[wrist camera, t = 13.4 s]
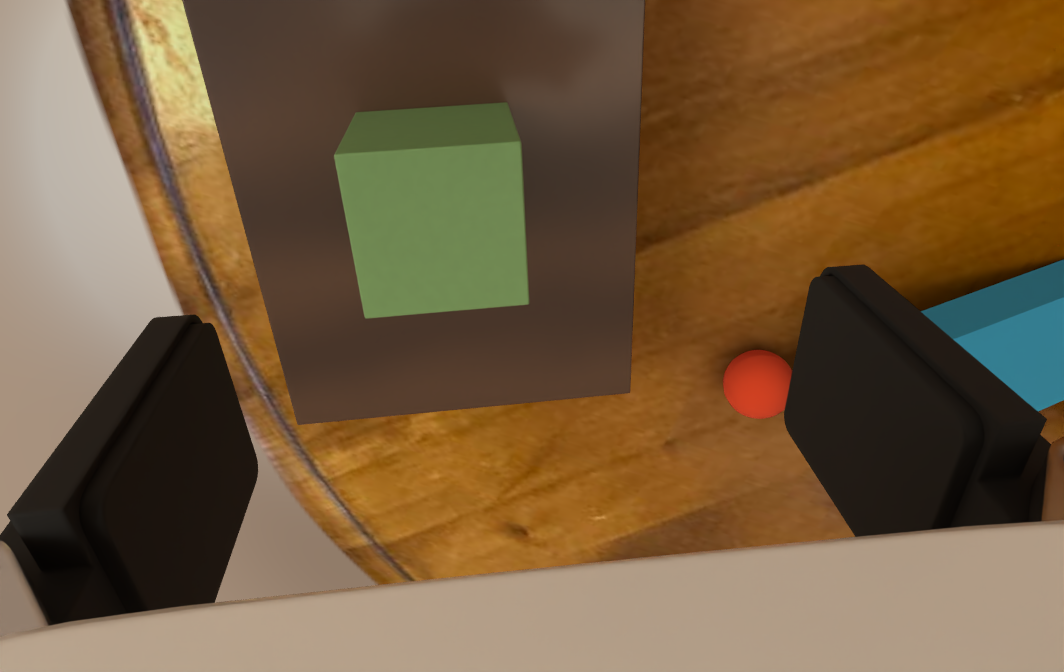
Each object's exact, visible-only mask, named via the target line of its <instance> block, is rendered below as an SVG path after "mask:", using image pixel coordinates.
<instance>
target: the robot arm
mask: <svg viewBox="0 0 1064 672" xmlns="http://www.w3.org/2000/svg"><path fill="white" fill-rule="evenodd" d="M784 419H785V425H786V428H787V430H788V432H789V434H790V436H791V437H792V439H793V440H794V442H795V444H796V445H797V447H798V448H799V450H800V451H801V453H802V454H803V456H804V457H805V459H806V461H807V462H808V464H809V465H810V467H811V468H812V470H813V471H814V473H815V475H816V476H817V478H818V479H819V481H820V482H821V484H822V485H823V487H824V488H825V490H826V492H827V493H828V495H829V496H830V498H831V499H832V501H833V502H834V504H835V506H836V507H837V509H838V510H839V512H840V513H841V515H842V516H843V518H844V519H845V521H846V523H847V524H848V526H849V527H850V529H851V530H852V532H853V533H854V535H855V537H851V538H840V539H830V540H819V541H809V542H799V543H788V544H778V545H767V546H757V547H746V548H736V549H726V550H715V551H705V552H695V553H685V554H675V555H665V556H655V557H645V558H635V559H625V560H615V561H605V562H595V563H585V564H576V565H566V566H556V567H546V568H537V569H527V570H517V571H507V572H498V573H488V574H478V575H468V576H459V577H450V578H440V579H431V580H422V581H413V582H403V583H394V584H385V585H375V586H366V587H357V588H348V589H338V590H329V591H320V592H310V593H301V594H292V595H283V596H273V597H263V598H254V599H245V600H235V601H227V602H217V603H215V600H216V597H217V594H218V591H219V588H220V585H221V582H222V579H223V576H224V574H225V571H226V568H227V565H228V562H229V559H230V556H231V553H232V550H233V548H234V545H235V542H236V538H237V536H238V533H239V530H240V527H241V524H242V521H243V519H244V516H245V513H246V510H247V507H248V504H249V501H250V498H251V495H252V493H253V490H254V487H255V484H256V481H257V475H258V464H257V463H258V462H257V457H256V454H255V450H254V447H253V444H252V442H251V438H250V435H249V432H248V429H247V426H246V423H245V419H244V416H243V413H242V410H241V407H240V404H239V401H238V398H237V395H236V391H235V388H234V385H233V382H232V379H231V376H230V373H229V370H228V367H227V364H226V360H225V357H224V354H223V351H222V348H221V345H220V342H219V339H218V336H217V333H216V330H215V328H214V326H213V325H212V324H210V323H202V321H201V320H200V318H199V317H198V316H196V315H183V316H170V317H157V318H153V319H152V320H151V321H150V322H149V324H148V325H147V326H146V328H145V329H144V330H143V332H142V333H141V334H140V336H139V337H138V338H137V340H136V341H135V343H134V344H133V345H132V347H131V348H130V349H129V351H128V352H127V353H126V355H125V356H124V357H123V359H122V360H121V362H120V363H119V364H118V365H117V367H116V368H115V370H114V371H113V372H112V374H111V375H110V376H109V378H108V379H107V380H106V382H105V383H104V384H103V386H102V387H101V388H100V390H99V391H98V393H97V394H96V395H95V397H94V398H93V399H92V401H91V402H90V404H89V405H88V406H87V407H86V409H85V410H84V411H83V413H82V414H81V415H80V417H79V418H78V420H77V421H76V422H75V424H74V425H73V426H72V428H71V429H70V430H69V432H68V433H67V434H66V436H65V437H64V438H63V440H62V441H61V443H60V444H59V445H58V446H57V448H56V449H55V451H54V452H53V453H52V455H51V456H50V457H49V459H48V460H47V461H46V463H45V464H44V466H43V467H42V468H41V470H40V471H39V472H38V474H37V475H36V476H35V478H34V479H33V480H32V482H31V483H30V484H29V486H28V487H27V489H26V490H25V491H24V492H23V494H22V495H21V497H20V498H19V499H18V500H17V502H16V503H15V505H14V506H13V507H12V509H11V510H10V511H9V513H8V514H7V516H8V517H9V519H10V522H9V524H8V525H7V526H6V528H5V529H4V531H3V532H2V533H1V535H0V672H1064V437H1062V438H1060V439H1058V440H1056V441H1055V442H1053V443H1052V444H1050V443H1049V442H1048V441H1047V440H1045V439H1044V438H1043V437H1042V436H1041V435H1040V433H1041V431H1042V429H1043V427H1044V425H1045V422H1046V420H1047V419H1046V418H1045V417H1044V416H1042V415H1041V414H1040V413H1039V412H1038V411H1037V410H1035V409H1034V408H1033V407H1032V406H1031V405H1030V404H1028V403H1027V402H1026V401H1025V400H1024V399H1023V398H1021V397H1020V396H1019V395H1018V394H1017V393H1016V392H1014V391H1013V390H1012V389H1011V388H1010V387H1008V386H1007V385H1006V384H1005V383H1004V382H1003V381H1001V380H1000V379H999V378H998V377H997V376H996V375H994V374H993V373H992V372H991V371H990V370H989V369H987V368H986V367H985V366H984V365H983V364H982V363H980V362H979V361H978V360H977V359H976V358H974V357H973V356H972V355H971V354H970V353H969V352H967V351H966V350H965V349H964V348H963V347H962V346H960V345H959V344H958V343H957V342H956V341H955V340H953V339H952V338H951V337H950V336H949V335H948V334H946V333H945V332H944V331H943V330H942V329H940V328H939V327H938V326H937V325H936V324H935V323H933V322H932V321H931V320H930V319H929V318H928V317H926V316H925V315H924V314H923V313H922V312H921V311H919V310H918V309H917V308H916V307H915V306H914V305H912V304H911V303H910V302H909V301H908V300H907V299H905V298H904V297H903V296H902V295H901V294H899V293H898V292H897V291H896V290H895V289H894V288H892V287H891V286H890V285H889V284H888V283H887V282H885V281H884V280H883V279H882V278H881V277H880V276H878V275H877V274H876V273H875V272H874V271H873V270H871V269H870V268H869V267H867V266H866V265H851V266H838V267H827V268H826V269H824V270H823V272H822V274H821V275H820V277H815V278H814V279H813V280H812V282H811V284H810V287H809V292H808V297H807V302H806V307H805V311H804V316H803V321H802V326H801V331H800V336H799V341H798V346H797V351H796V356H795V361H794V366H793V371H792V375H791V380H790V385H789V390H788V395H787V400H786V405H785V411H784Z"/></svg>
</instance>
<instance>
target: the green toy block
mask: <svg viewBox="0 0 1064 672" xmlns="http://www.w3.org/2000/svg"><path fill="white" fill-rule="evenodd" d="M334 159H335V164H336V169H337V175H338V180H339V185H340V190H341V196H342V201H343V206H344V211H345V217H346V222H347V227H348V232H349V238H350V243H351V248H352V253H353V259H354V264H355V269H356V275H357V280H358V285H359V290H360V296H361V301H362V306H363V311H364V317H365V318H378V317H390V316H401V315H413V314H424V313H436V312H448V311H459V310H471V309H482V308H494V307H505V306H517V305H528V304H529V285H528V264H527V244H526V223H525V203H524V183H523V162H522V143H521V140H520V137H519V134H518V132H517V129H516V126H515V123H514V120H513V117H512V114H511V111H510V109H509V106H508V103H506V102H505V103H489V104H474V105H459V106H444V107H429V108H413V109H398V110H383V111H368V112H356V113H355V115H354V117H353V119H352V121H351V123H350V125H349V127H348V129H347V131H346V133H345V135H344V137H343V139H342V141H341V143H340V145H339V147H338V149H337V151H336V152H335V154H334Z"/></svg>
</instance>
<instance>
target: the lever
mask: <svg viewBox="0 0 1064 672" xmlns="http://www.w3.org/2000/svg"><path fill="white" fill-rule="evenodd" d="M921 312H922V313H923V314H924V315H925V316H926V317H928V318H929V319H930V320H931V321H932V322H933V323H935V324H936V325H937V326H938V327H939V328H940V329H942V330H943V331H944V332H945V333H946V334H948V335H949V336H950V337H951V338H952V339H953V340H955V341H956V342H957V343H958V344H959V345H960V346H962V347H963V348H964V349H965V350H966V351H967V352H969V353H970V354H971V355H972V356H973V357H974V358H976V359H977V360H978V361H979V362H980V363H982V364H983V365H984V366H985V367H986V368H987V369H989V370H990V371H991V372H992V373H993V374H994V375H996V376H997V377H998V378H999V379H1000V380H1001V381H1003V382H1004V383H1005V384H1006V385H1007V386H1008V387H1010V388H1011V389H1012V390H1013V391H1014V392H1016V393H1017V394H1018V395H1019V396H1020V397H1021V398H1023V399H1024V400H1025V401H1026V402H1027V403H1028V404H1030V405H1031V406H1032V407H1033V408H1034V409H1035V410H1037V411H1040V410H1042V409H1044V408H1047V407H1049V406H1051V405H1053V404H1056V403H1058V402H1060V401H1063V400H1064V260H1061V261H1058V262H1055V263H1053V264H1050V265H1047V266H1044V267H1042V268H1039V269H1036V270H1033V271H1031V272H1028V273H1025V274H1022V275H1020V276H1017V277H1014V278H1011V279H1009V280H1006V281H1003V282H1000V283H998V284H995V285H992V286H989V287H987V288H984V289H981V290H978V291H976V292H973V293H970V294H967V295H965V296H962V297H959V298H956V299H954V300H951V301H948V302H945V303H943V304H940V305H937V306H934V307H932V308H929V309H926V310H923V311H921ZM791 375H792V370H791V368H790V367H789V365H788V364H787V363H786V361H785V360H784V359H783V358H781V357H780V356H778V355H776V354H774V353H772V352H769V351H765V350H752V351H747V352H745V353H742V354H740V355H739V356H737V357H736V358H734V359H733V360H732V361H731V362H730V364H729V365H728V367H727V369H726V371H725V374H724V378H723V388H724V393H725V396H726V398H727V400H728V401H729V403H730V405H731V406H732V407H733V408H734V409H735V410H736V411H737V412H739V413H741V414H742V415H744V416H747V417H750V418H759V419H763V418H769V417H772V416H775V415H777V414H779V413H780V412H782V411H783V410H784V409H785V405H786V400H787V395H788V390H789V385H790V380H791Z"/></svg>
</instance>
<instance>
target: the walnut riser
mask: <svg viewBox="0 0 1064 672" xmlns="http://www.w3.org/2000/svg"><path fill="white" fill-rule="evenodd" d="M182 1H183V4H184V8H185V12H186V16H187V19H188V23H189V27H190V30H191V34H192V38H193V41H194V45H195V49H196V52H197V56H198V60H199V63H200V67H201V71H202V74H203V78H204V82H205V85H206V89H207V93H208V96H209V100H210V104H211V108H212V111H213V115H214V119H215V122H216V126H217V130H218V133H219V137H220V141H221V144H222V148H223V152H224V155H225V159H226V163H227V166H228V170H229V174H230V177H231V181H232V185H233V188H234V192H235V196H236V200H237V203H238V207H239V211H240V214H241V218H242V222H243V225H244V229H245V233H246V236H247V240H248V244H249V247H250V251H251V255H252V258H253V262H254V266H255V269H256V273H257V277H258V280H259V284H260V288H261V292H262V295H263V299H264V303H265V306H266V310H267V314H268V317H269V321H270V325H271V328H272V332H273V336H274V339H275V343H276V347H277V350H278V354H279V358H280V361H281V365H282V369H283V372H284V376H285V380H286V384H287V387H288V391H289V395H290V398H291V402H292V406H293V409H294V413H295V417H296V420H297V424H298V425H302V424H312V423H323V422H333V421H343V420H354V419H364V418H375V417H385V416H395V415H406V414H416V413H427V412H437V411H447V410H458V409H468V408H478V407H489V406H499V405H510V404H520V403H530V402H541V401H551V400H562V399H572V398H582V397H593V396H603V395H613V394H624V393H630V383H631V357H632V331H633V305H634V279H635V253H636V227H637V201H638V175H639V150H640V124H641V98H642V72H643V46H644V20H645V0H182ZM505 102H506V103H508V106H509V109H510V111H511V114H512V117H513V120H514V123H515V126H516V129H517V132H518V134H519V137H520V140H521V143H522V162H523V183H524V203H525V223H526V244H527V264H528V285H529V304H528V305H517V306H505V307H494V308H482V309H471V310H459V311H448V312H436V313H424V314H413V315H401V316H390V317H378V318H365V317H364V311H363V306H362V301H361V296H360V290H359V285H358V280H357V275H356V269H355V264H354V259H353V253H352V248H351V243H350V238H349V232H348V227H347V222H346V217H345V211H344V206H343V201H342V196H341V190H340V185H339V180H338V175H337V169H336V164H335V159H334V154H335V152H336V151H337V149H338V147H339V145H340V143H341V141H342V139H343V137H344V135H345V133H346V131H347V129H348V127H349V125H350V123H351V121H352V119H353V117H354V115H355V113H356V112H368V111H383V110H398V109H413V108H429V107H444V106H459V105H474V104H489V103H505Z"/></svg>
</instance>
